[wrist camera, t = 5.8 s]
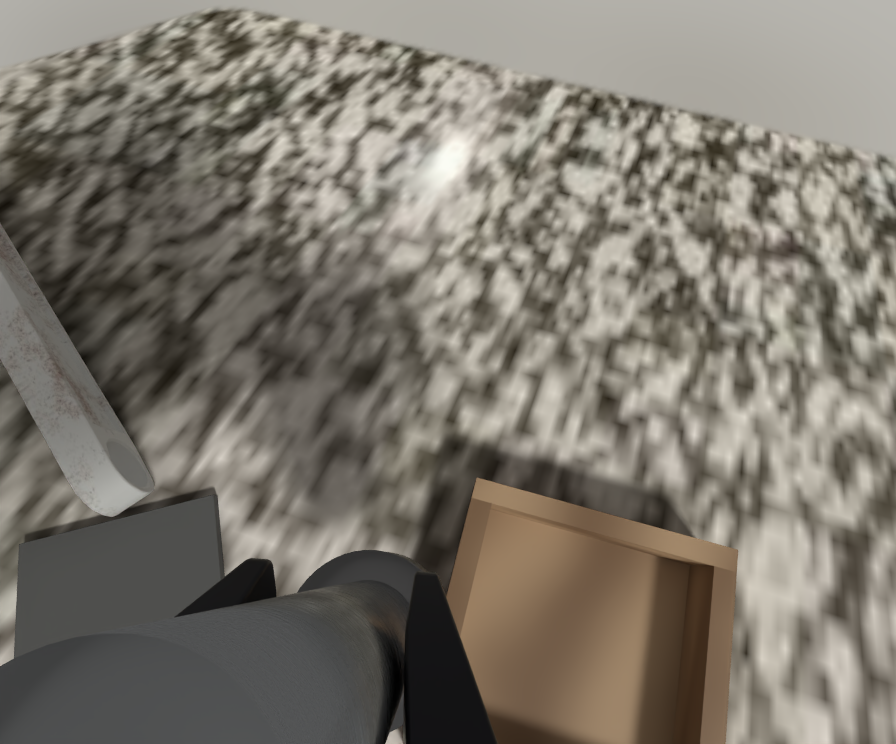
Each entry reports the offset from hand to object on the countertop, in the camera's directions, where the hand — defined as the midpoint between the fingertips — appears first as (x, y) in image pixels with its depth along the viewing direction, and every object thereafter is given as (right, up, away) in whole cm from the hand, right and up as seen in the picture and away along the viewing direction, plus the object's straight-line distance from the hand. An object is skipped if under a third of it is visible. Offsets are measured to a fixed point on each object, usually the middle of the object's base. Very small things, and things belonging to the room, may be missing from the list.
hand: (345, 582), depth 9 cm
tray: (+6, -7, +11) cm, 14 cm away
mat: (-11, -6, +11) cm, 17 cm away
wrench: (-20, +9, +17) cm, 28 cm away
